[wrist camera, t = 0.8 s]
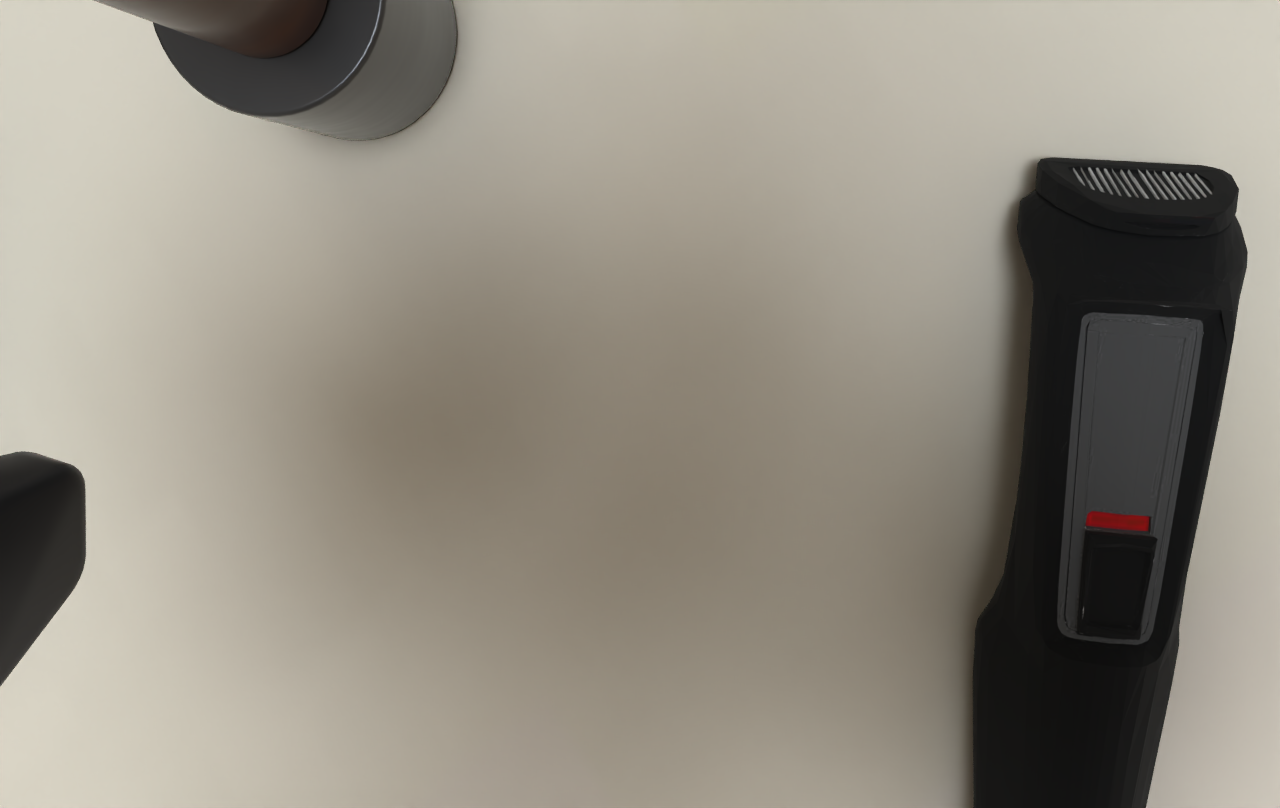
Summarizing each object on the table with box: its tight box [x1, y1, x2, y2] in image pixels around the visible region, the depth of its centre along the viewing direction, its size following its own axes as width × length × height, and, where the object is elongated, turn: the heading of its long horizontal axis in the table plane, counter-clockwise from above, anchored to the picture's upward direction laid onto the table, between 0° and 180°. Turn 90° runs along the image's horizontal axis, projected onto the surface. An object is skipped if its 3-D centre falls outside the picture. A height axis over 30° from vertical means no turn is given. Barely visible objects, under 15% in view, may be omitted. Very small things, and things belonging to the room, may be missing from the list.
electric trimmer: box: [973, 158, 1247, 808], centre depth 20 cm, size 4×16×3 cm, turn 176°
